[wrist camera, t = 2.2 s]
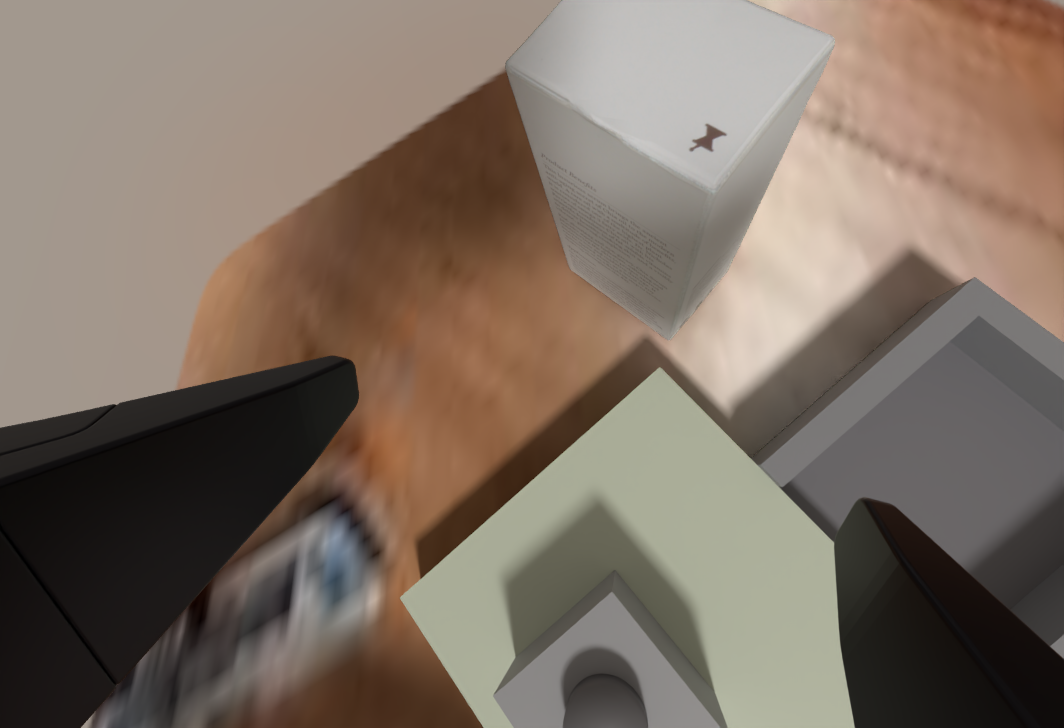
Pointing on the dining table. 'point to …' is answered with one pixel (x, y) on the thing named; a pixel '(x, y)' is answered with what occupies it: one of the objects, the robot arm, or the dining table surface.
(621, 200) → the skincare box
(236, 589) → the dining table surface
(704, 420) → the fixture base
